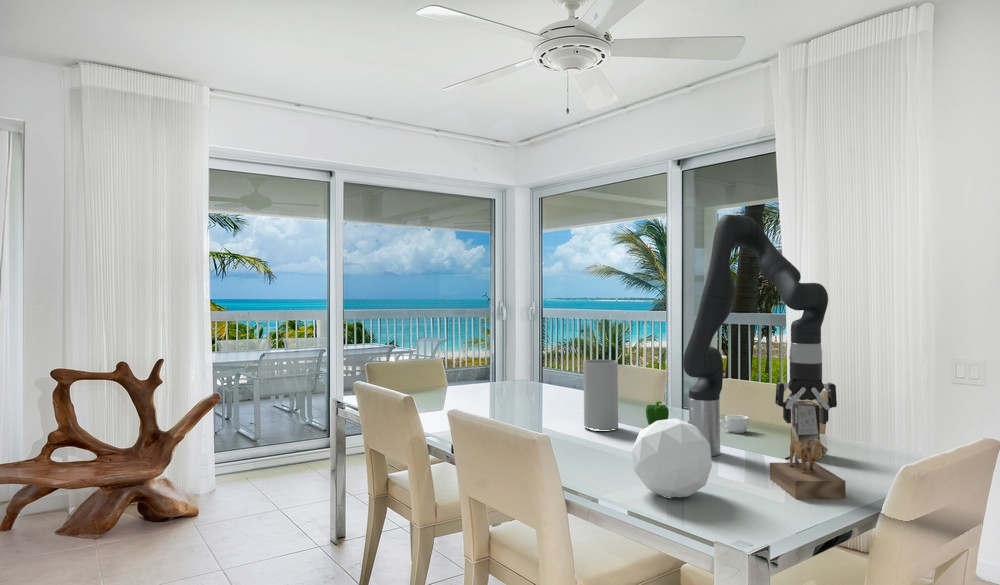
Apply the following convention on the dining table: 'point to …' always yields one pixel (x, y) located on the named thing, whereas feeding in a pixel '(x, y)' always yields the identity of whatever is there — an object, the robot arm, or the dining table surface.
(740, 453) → the dining table surface
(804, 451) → the lion figurine
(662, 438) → the ball
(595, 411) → the cylinder vase
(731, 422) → the teacup
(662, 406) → the bell pepper
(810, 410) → the coffee box
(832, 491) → the walnut block
